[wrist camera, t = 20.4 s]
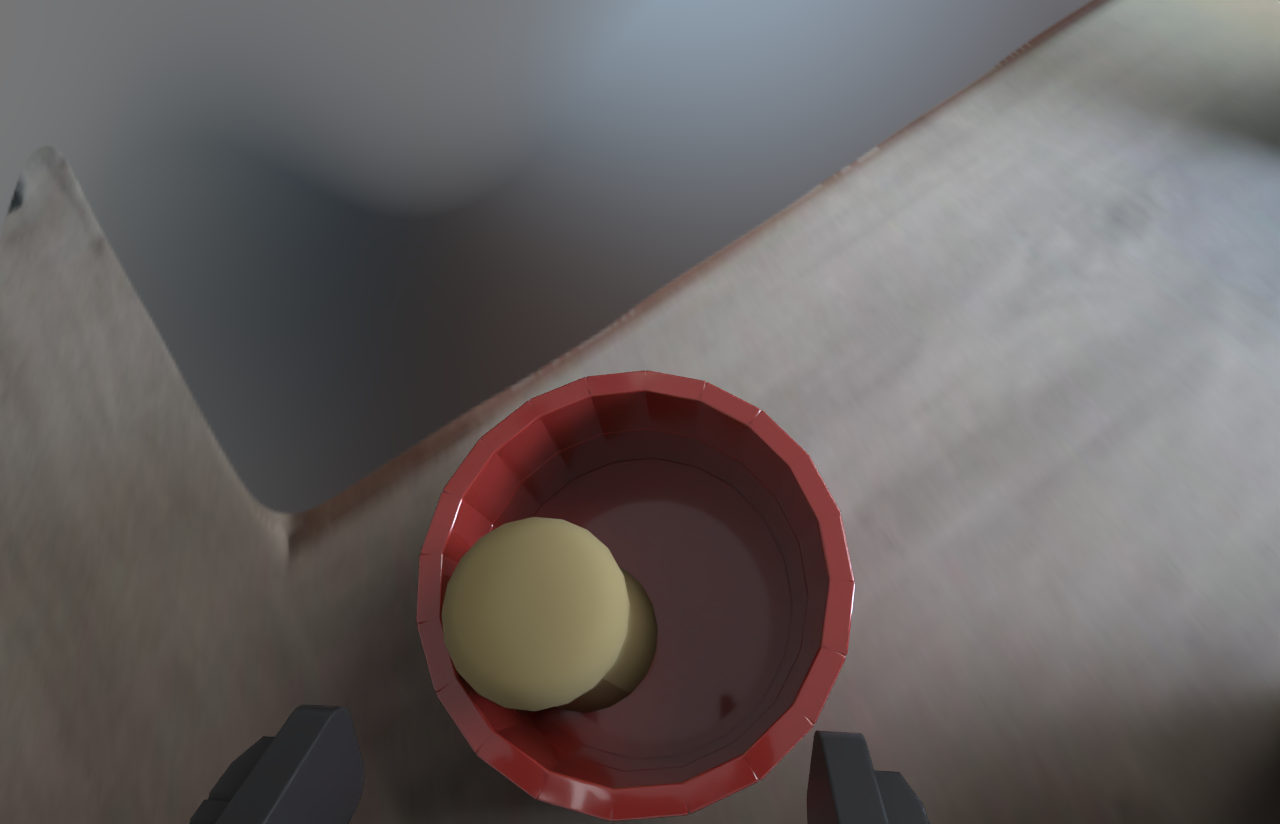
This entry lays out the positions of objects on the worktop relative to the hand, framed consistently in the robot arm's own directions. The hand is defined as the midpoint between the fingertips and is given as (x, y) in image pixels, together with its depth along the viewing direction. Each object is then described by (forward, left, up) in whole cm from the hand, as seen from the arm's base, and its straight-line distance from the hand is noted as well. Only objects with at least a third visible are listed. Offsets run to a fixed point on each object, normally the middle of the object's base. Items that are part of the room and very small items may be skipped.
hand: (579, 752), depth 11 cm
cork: (+1, -4, -16) cm, 16 cm away
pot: (-2, -4, -16) cm, 17 cm away
